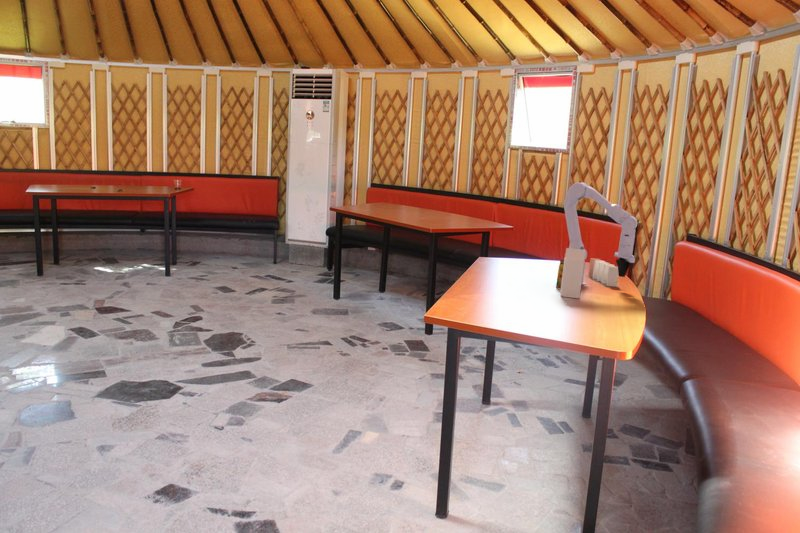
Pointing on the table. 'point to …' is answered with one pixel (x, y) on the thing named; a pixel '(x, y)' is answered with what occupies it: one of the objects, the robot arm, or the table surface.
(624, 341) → the table surface
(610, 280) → the tile
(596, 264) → the tile
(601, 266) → the tile
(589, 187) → the robot arm
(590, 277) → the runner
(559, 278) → the crayon box
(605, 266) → the tile
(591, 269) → the tile
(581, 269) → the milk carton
